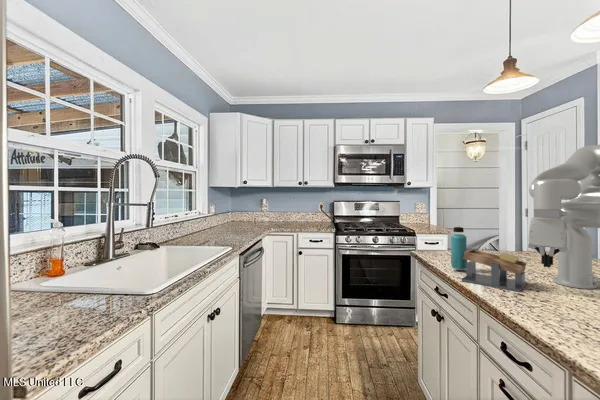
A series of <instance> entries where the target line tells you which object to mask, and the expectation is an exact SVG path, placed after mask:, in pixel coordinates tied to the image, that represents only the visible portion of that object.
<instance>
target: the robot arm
mask: <svg viewBox="0 0 600 400" xmlns="http://www.w3.org/2000/svg"><path fill="white" fill-rule="evenodd" d="M528 193H529V195H530V197H532V199H533V217H530V218H531V219H530V222H529V229H528V246H527V248H529V249H532V250H535V251H536V252H537V253H539V254H540V255H541V256H540V257H541V260H540V261H541V264H542V265H543V267H544V268H549V269H550V268H551V267H552V266H553V265H554V256H555V255H556V254H557V276H554V277H553V278H552V281H553V283H555V284H558V285H560V286H563V287H564V286H565V287H569V288H575V289H576V288H577V289H585V290H591V289H592V290H593V289H597V288H599V284H600V277H598V276H595V275H594V272H593V239H592V237H591V235H590V234H589V233H588V231H587V229H585V228H590V229H600V144H596V145H595V144H593V145H585V146H582V147H580V148H578V149H577V150H576V151H574V153H572V155H571V156H570V157H569V158H568V159H567V160H566V161H565V162H564V163H562V164H558V165H557V166H554V167H551V168H549V169H547V170H544V171H542V172H541V173H539V174H538V175H537V176H536V177H535V178H534V179H533V180H532V181H531V183H530V185H529V189H528ZM567 200H568V201H567ZM562 201H564V202H562ZM546 248H549V252H548V253H547V252H546Z"/></svg>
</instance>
